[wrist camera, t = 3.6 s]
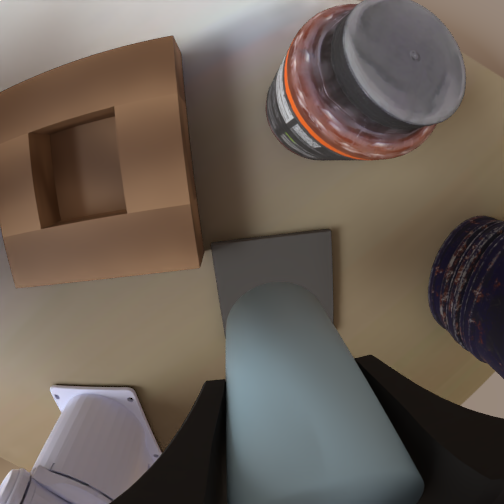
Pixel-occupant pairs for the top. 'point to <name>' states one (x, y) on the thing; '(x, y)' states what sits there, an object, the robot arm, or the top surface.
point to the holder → (99, 169)
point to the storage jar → (472, 288)
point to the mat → (274, 266)
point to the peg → (304, 411)
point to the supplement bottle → (366, 82)
